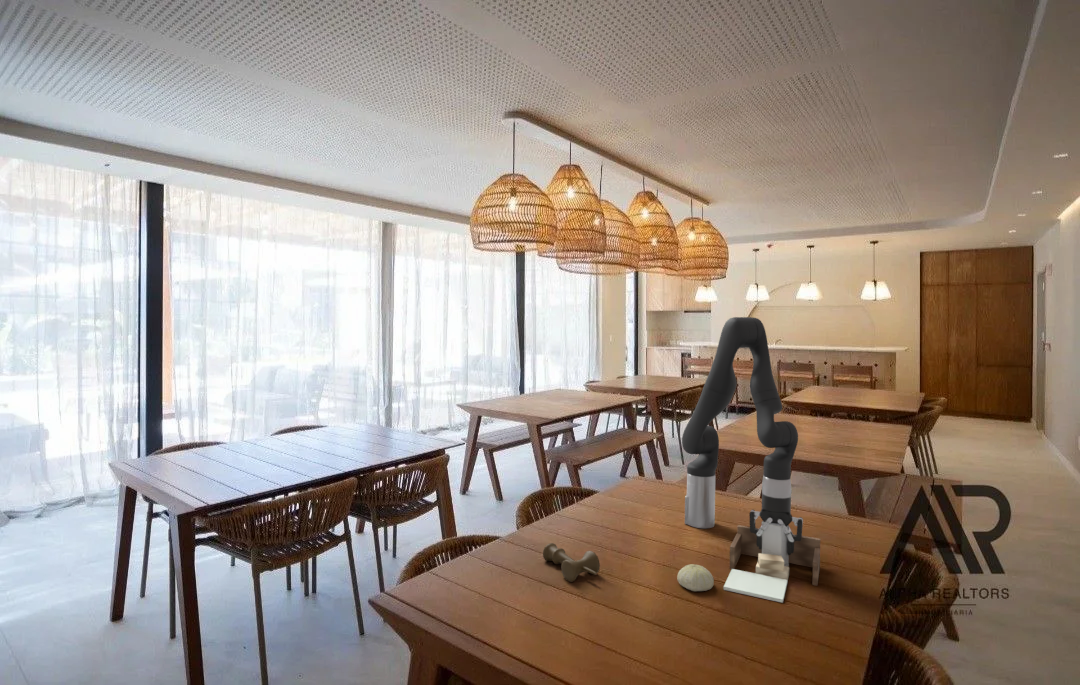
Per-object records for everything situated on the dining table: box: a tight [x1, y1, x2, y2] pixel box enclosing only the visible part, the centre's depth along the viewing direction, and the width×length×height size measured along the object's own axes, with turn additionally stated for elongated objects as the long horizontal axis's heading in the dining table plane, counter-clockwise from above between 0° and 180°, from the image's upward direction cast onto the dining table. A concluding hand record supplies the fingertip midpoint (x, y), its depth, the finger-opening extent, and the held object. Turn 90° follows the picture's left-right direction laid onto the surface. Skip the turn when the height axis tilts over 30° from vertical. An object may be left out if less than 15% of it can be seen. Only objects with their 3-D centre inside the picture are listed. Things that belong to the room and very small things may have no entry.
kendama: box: [542, 542, 601, 583], centre depth 155 cm, size 6×10×20 cm
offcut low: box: [755, 561, 790, 580], centre depth 154 cm, size 8×4×2 cm, turn 61°
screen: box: [729, 524, 821, 587], centre depth 158 cm, size 22×13×8 cm, turn 62°
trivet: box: [723, 568, 789, 604], centre depth 147 cm, size 14×12×1 cm
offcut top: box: [757, 553, 784, 571], centre depth 154 cm, size 6×4×2 cm, turn 76°
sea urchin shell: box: [676, 563, 714, 592], centre depth 147 cm, size 9×8×8 cm
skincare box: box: [761, 520, 790, 567], centre depth 159 cm, size 6×4×12 cm
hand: (775, 551), depth 159 cm, fingers closed on skincare box, 7 cm apart
